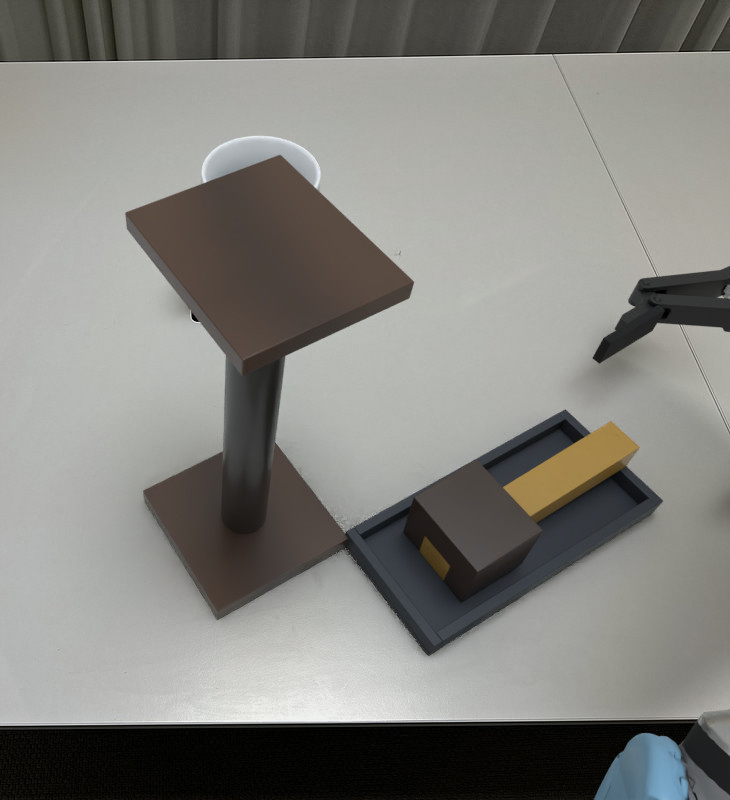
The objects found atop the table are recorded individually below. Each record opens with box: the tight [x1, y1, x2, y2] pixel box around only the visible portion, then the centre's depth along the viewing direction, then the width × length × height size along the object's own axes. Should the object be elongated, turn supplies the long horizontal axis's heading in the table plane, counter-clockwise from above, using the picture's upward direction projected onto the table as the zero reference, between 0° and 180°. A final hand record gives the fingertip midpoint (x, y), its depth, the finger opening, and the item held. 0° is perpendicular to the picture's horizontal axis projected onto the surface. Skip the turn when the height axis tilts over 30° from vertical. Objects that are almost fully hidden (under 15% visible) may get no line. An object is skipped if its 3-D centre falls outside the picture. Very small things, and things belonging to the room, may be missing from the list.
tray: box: [344, 409, 664, 657], centre depth 63 cm, size 24×11×2 cm, turn 120°
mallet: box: [403, 420, 641, 602], centre depth 61 cm, size 19×7×6 cm, turn 120°
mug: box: [200, 135, 322, 192], centre depth 76 cm, size 15×11×13 cm
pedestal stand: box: [124, 155, 415, 620], centre depth 53 cm, size 12×12×30 cm
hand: (667, 405), depth 63 cm, fingers open, 13 cm apart
